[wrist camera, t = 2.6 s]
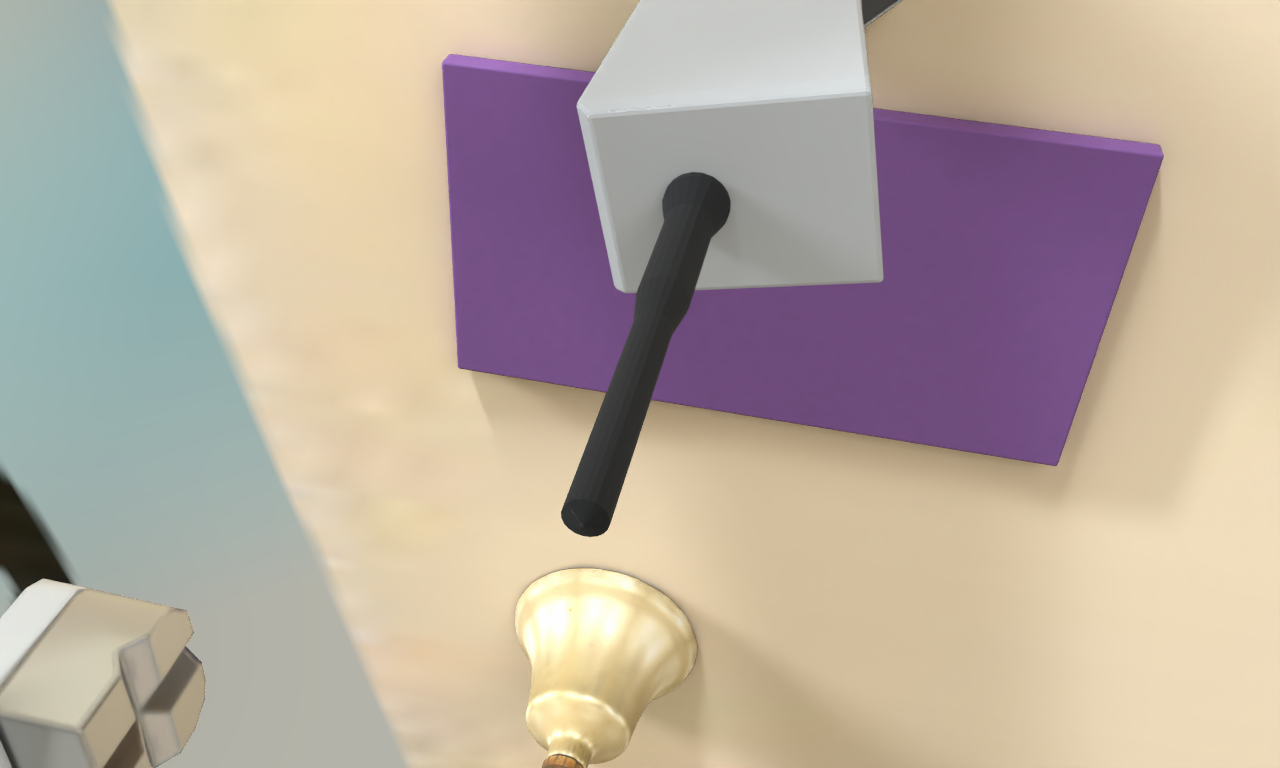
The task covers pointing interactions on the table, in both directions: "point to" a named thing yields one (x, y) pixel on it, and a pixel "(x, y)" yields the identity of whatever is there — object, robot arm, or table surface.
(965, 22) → the table surface
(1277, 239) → the table surface
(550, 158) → the mat
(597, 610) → the hand bell
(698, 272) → the vintage mobile phone
